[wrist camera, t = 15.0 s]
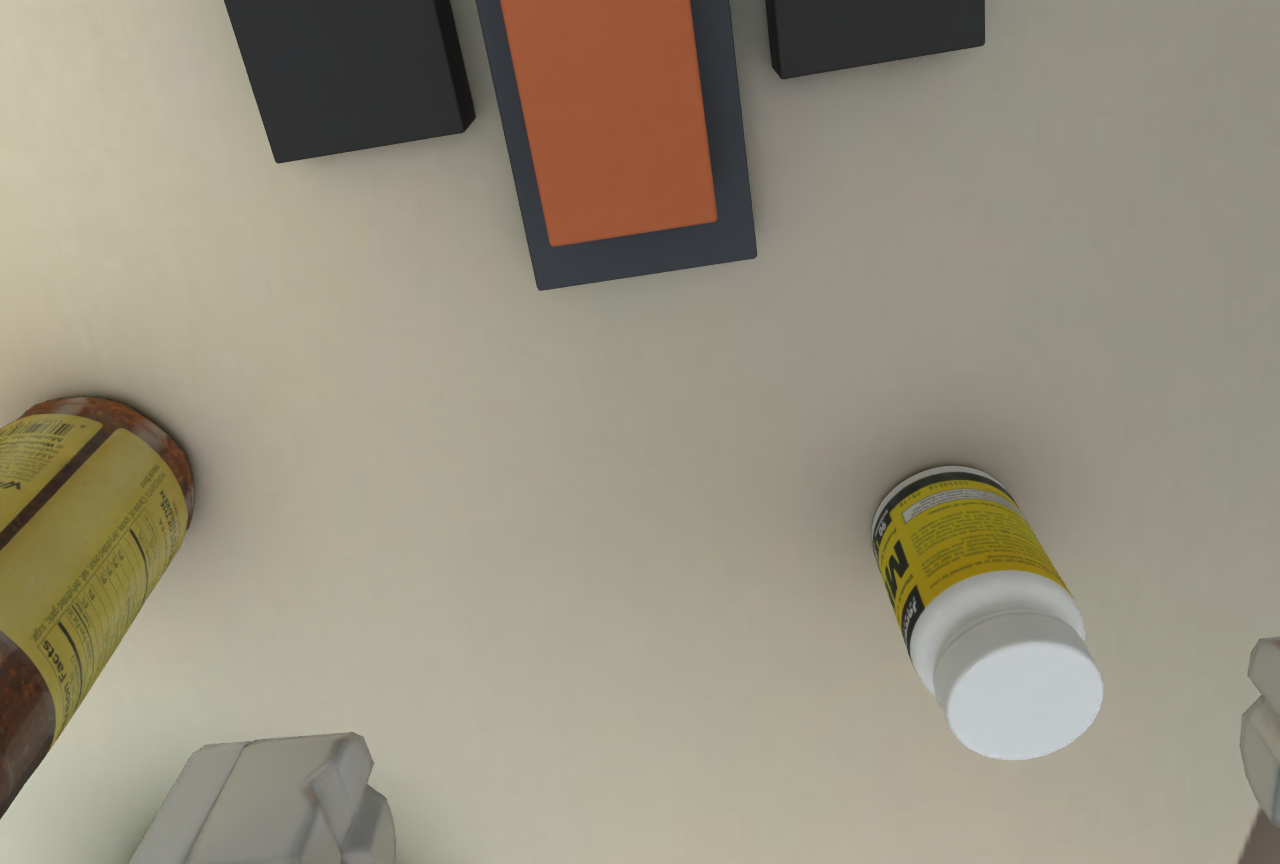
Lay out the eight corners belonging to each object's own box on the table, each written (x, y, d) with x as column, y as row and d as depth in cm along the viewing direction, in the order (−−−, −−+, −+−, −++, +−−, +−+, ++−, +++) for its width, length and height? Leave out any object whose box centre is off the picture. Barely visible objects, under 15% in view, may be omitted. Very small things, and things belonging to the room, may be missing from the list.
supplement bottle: (851, 487, 33) (911, 658, 25) (998, 442, 32) (1104, 604, 25) (889, 602, 35) (955, 792, 28) (1028, 562, 34) (1134, 745, 27)
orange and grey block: (706, -164, 25) (718, -179, 20) (751, 237, 29) (769, 296, 25) (463, -119, 25) (423, -125, 21) (544, 269, 30) (525, 332, 25)
